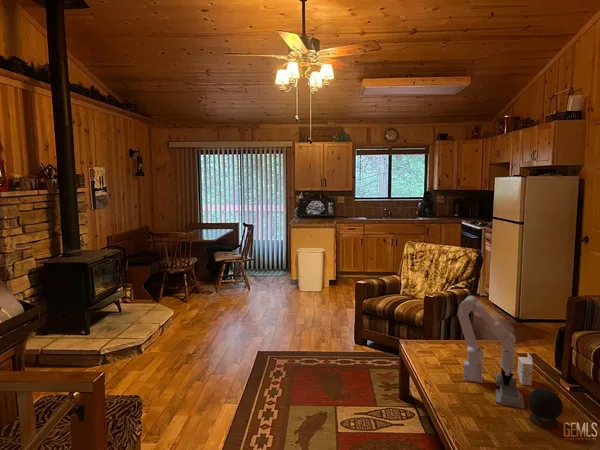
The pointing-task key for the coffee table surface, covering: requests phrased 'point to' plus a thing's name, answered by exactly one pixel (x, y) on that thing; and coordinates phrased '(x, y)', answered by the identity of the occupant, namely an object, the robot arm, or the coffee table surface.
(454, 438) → the coffee table surface
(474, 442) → the coffee table surface
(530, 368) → the ink cartridge box
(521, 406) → the stand
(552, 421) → the black ball on base
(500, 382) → the housing
